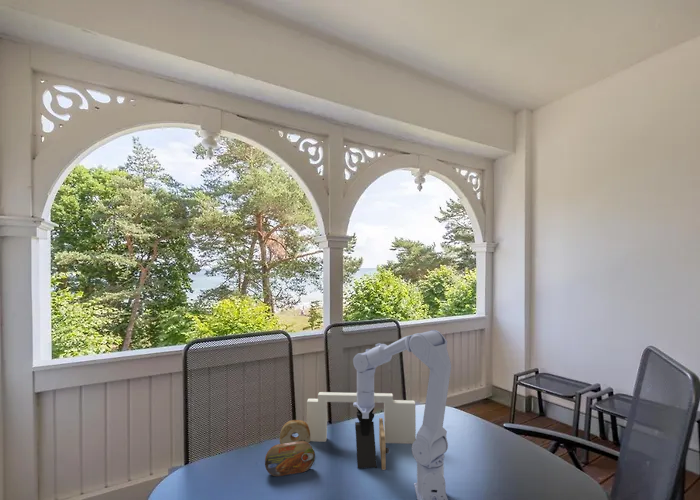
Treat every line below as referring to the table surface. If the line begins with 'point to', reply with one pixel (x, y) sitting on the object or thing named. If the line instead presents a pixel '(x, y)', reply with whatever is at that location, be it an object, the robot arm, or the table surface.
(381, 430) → the door
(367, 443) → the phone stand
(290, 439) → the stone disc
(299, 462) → the tin
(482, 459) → the table surface
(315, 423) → the door frame
